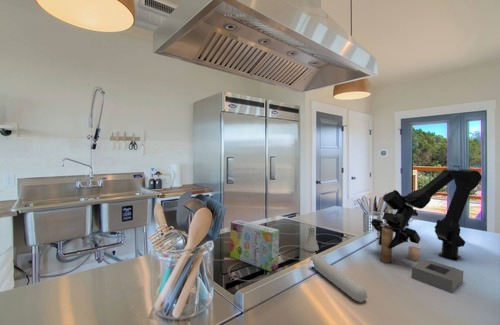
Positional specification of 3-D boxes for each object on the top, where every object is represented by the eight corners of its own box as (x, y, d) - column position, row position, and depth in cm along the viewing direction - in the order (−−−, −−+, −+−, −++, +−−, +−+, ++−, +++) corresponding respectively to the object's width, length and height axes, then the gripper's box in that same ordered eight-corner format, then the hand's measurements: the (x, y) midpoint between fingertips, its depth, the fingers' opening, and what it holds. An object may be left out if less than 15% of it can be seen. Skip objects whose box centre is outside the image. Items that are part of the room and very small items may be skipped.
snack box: (278, 267, 99) (280, 229, 98) (270, 272, 95) (272, 232, 94) (237, 252, 112) (238, 218, 111) (228, 256, 108) (229, 221, 107)
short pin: (410, 256, 112) (411, 245, 112) (420, 260, 109) (421, 248, 108) (406, 259, 109) (407, 247, 109) (416, 262, 106) (417, 250, 106)
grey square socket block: (424, 268, 101) (424, 258, 100) (462, 281, 91) (463, 271, 91) (411, 277, 93) (412, 266, 93) (451, 292, 84) (452, 281, 84)
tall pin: (383, 258, 109) (384, 226, 108) (392, 261, 106) (394, 228, 105) (378, 260, 107) (380, 227, 106) (388, 264, 104) (390, 230, 103)
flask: (306, 245, 123) (307, 224, 122) (321, 249, 118) (322, 227, 118) (300, 249, 117) (301, 228, 116) (315, 254, 113) (316, 231, 112)
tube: (373, 290, 78) (322, 256, 101) (360, 287, 76) (311, 253, 99) (367, 307, 77) (318, 269, 101) (354, 305, 76) (307, 266, 99)
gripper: (374, 200, 115) (356, 228, 111) (417, 210, 99) (399, 242, 94) (384, 216, 119) (367, 243, 115) (427, 227, 103) (410, 259, 98)
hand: (384, 246), depth 105 cm, fingers closed on tall pin, 4 cm apart
